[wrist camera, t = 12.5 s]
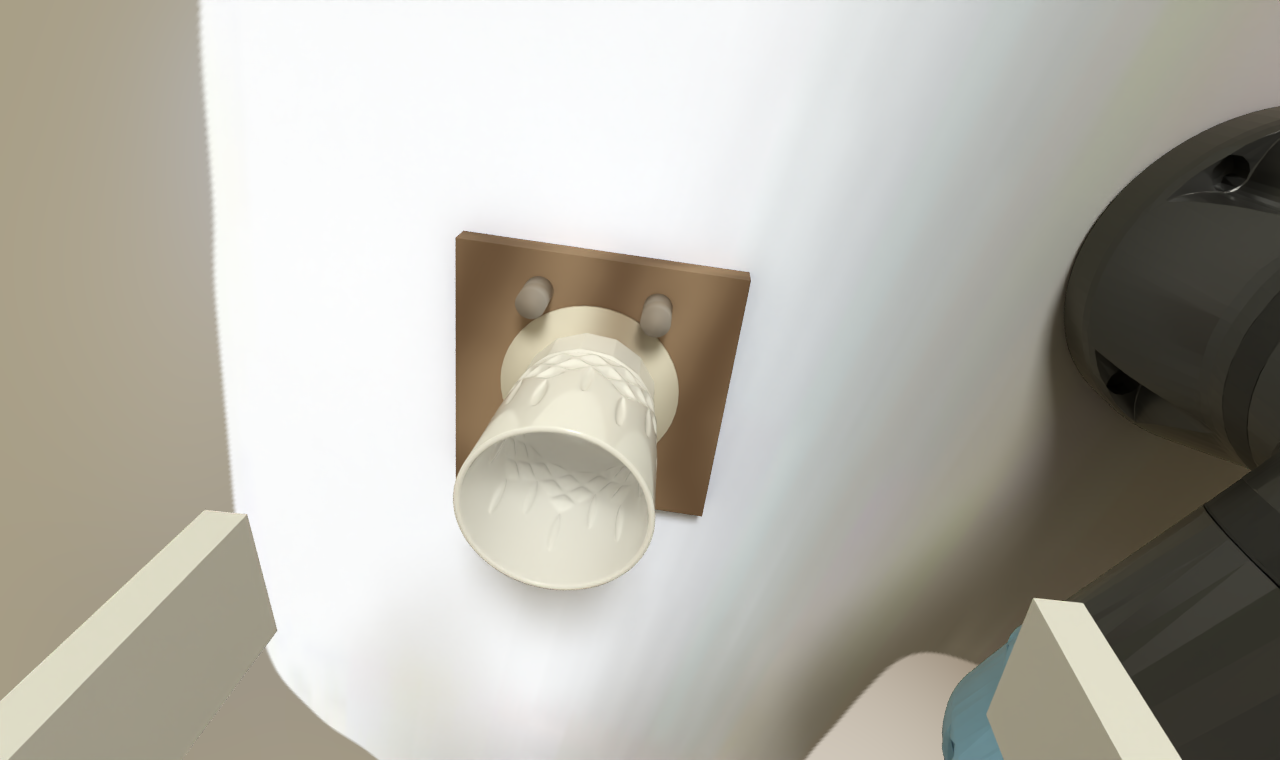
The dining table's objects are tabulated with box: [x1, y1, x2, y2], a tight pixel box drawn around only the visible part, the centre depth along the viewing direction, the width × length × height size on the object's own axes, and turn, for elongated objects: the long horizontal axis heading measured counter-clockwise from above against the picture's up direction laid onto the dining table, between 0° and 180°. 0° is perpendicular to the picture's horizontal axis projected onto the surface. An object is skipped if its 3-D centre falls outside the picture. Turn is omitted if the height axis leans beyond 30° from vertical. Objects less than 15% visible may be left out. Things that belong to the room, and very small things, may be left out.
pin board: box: [456, 231, 751, 516], centre depth 36 cm, size 14×14×3 cm
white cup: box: [453, 333, 657, 590], centre depth 31 cm, size 8×8×10 cm
